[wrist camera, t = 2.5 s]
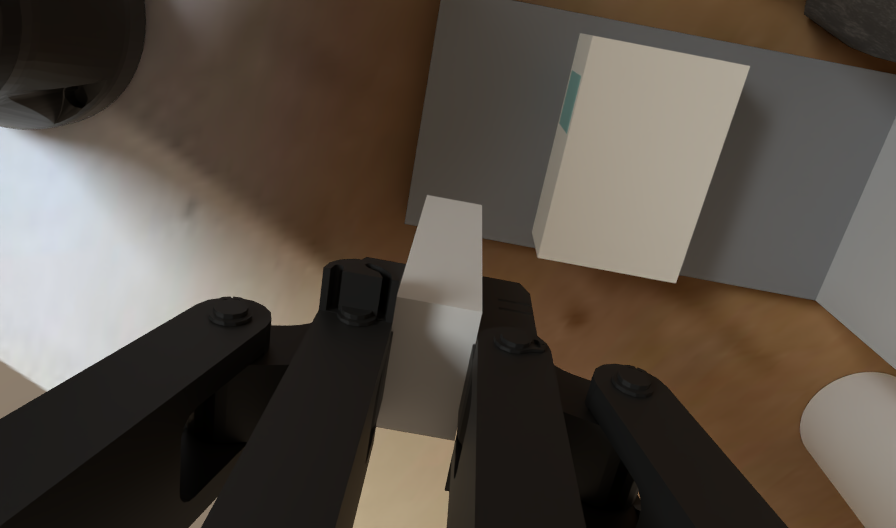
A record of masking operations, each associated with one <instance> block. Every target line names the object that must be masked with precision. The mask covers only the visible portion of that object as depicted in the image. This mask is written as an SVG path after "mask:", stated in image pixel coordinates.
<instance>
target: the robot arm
mask: <svg viewBox="0 0 896 528" xmlns="http://www.w3.org/2000/svg"><path fill="white" fill-rule="evenodd" d="M145 25H146V18H145V4H144V0H0V126H1V127H6V128H13V129H47V128H53V127H57V126H61V125H65V124H69V123H73V122H76V121H80V120H83V119H86V118H88V117H91V116H93V115H95V114H97V113H98V112H100V111H102V110H103V109H105V108H106V107H108V106H109V105H110V104H111V103H112V102H114V101H115V100H116V99H117V98H118V97H119V96H120V94H121V93H122V92H123V91H124V89H125V88H126V87H127V85H128V84H129V82H130V80H131V79H132V77H133V75H134V73H135V71H136V69H137V66H138V63H139V61H140V57H141V54H142V50H143V45H144V38H145ZM531 306H532V303H531V297H530V294H529V293H528V292H527V291H526V289H525V288H524V287H523V286H522V285H521V284H520V283H516V282H511V281H505V280H500V279H494V278H489V277H483V276H482V205H479V204H474V203H468V202H463V201H457V200H452V199H446V198H441V197H435V196H430V195H427V197H426V200H425V204H424V207H423V210H422V214H421V217H420V220H419V224H418V227H417V230H416V234H415V237H414V240H413V243H412V247H411V250H410V253H409V257H408V260H407V263H406V264H402V263H397V262H391V261H386V260H380V259H375V258H369V257H366V258H364V259H362V260H360V259H342V260H337V261H333V262H330V263H329V264H327V265H326V266H325V267H324V269H323V278H322V287H321V296H320V305H319V311H318V313H317V314H316V316H315V318H314V320H313V322H312V323H309V324H303V325H292V326H271V312H270V311H269V310H268V309H267V308H266V307H265V306H263V305H261V304H259V303H256V302H254V301H251V300H246V299H243V298H240V297H233V298H231V297H221V298H218V299H211V300H207V301H204V302H202V303H199V304H197V305H195V306H193V307H191V308H190V309H188V310H186V311H184V312H183V313H181V314H179V315H178V316H176V317H174V318H173V319H171V320H169V321H167V322H166V323H164V324H162V325H161V326H159V327H157V328H155V329H154V330H152V331H150V332H149V333H147V334H145V335H143V336H142V337H140V338H138V339H137V340H135V341H133V342H131V343H130V344H128V345H126V346H125V347H123V348H121V349H119V350H118V351H116V352H114V353H113V354H111V355H109V356H107V357H106V358H104V359H102V360H101V361H99V362H97V363H95V364H94V365H92V366H90V367H89V368H87V369H85V370H83V371H82V372H80V373H78V374H77V375H75V376H73V377H71V378H70V379H68V380H66V381H65V382H63V383H61V384H59V385H58V386H56V387H54V388H53V389H51V390H49V391H47V392H46V393H44V394H42V395H41V396H39V397H37V398H36V399H34V400H32V401H30V402H29V403H27V404H25V405H23V406H22V407H20V408H18V409H17V410H15V411H13V412H11V413H10V414H8V415H6V416H5V417H3V418H1V419H0V528H189V527H190V526H191V524H192V523H193V522H194V521H195V520H196V519H197V518H198V517H199V516H200V515H201V514H202V513H203V512H204V510H206V508H207V507H208V506H209V505H210V504H211V503H212V502H213V501H214V500H215V499H216V498H217V499H216V501H215V503H214V505H213V507H212V508H211V510H210V512H209V514H208V516H207V518H206V520H205V521H204V523H203V525H202V527H201V528H353V524H354V520H355V516H356V511H357V507H358V503H359V499H360V495H361V491H362V487H363V483H364V479H365V475H366V471H367V467H368V463H369V459H370V455H371V451H372V447H373V442H374V436H375V430H376V427H380V428H386V429H391V430H397V431H403V432H408V433H414V434H420V435H425V436H431V437H437V438H442V439H448V440H455V435H456V430H457V436H456V440H455V445H454V450H453V454H452V459H451V463H450V468H449V472H448V477H447V482H446V486H445V491H449V504H448V518H447V528H788V527H787V526H786V524H785V523H784V522H783V521H782V520H781V519H780V517H779V516H778V515H777V514H776V513H775V512H774V510H773V509H772V508H771V507H770V506H769V505H768V503H767V502H766V501H765V500H764V499H763V498H762V497H761V495H760V494H759V493H758V492H757V491H756V490H755V488H754V487H753V486H752V485H751V484H750V483H749V481H748V480H747V479H746V478H745V477H744V476H743V474H742V473H741V472H740V471H739V470H738V469H737V467H736V466H735V465H734V464H733V463H732V462H731V461H730V459H729V458H728V457H727V456H726V455H725V454H724V452H723V451H722V450H721V449H720V448H719V447H718V445H717V444H716V443H715V442H714V441H713V440H712V438H711V437H710V436H709V435H708V434H707V433H706V432H705V430H704V429H703V428H702V427H701V426H700V425H699V423H698V422H697V421H696V420H695V419H694V418H693V416H692V415H691V414H690V413H689V412H688V411H687V409H686V408H685V407H684V406H683V405H682V404H681V402H680V401H679V400H678V399H677V398H676V397H675V396H674V394H673V393H672V392H671V391H670V390H669V389H668V387H667V386H666V385H664V384H663V383H662V382H661V381H660V380H659V379H657V378H656V377H654V376H652V375H650V374H648V373H647V372H646V371H645V370H642V369H640V368H635V367H634V366H630V365H620V364H606V365H602V366H600V367H598V368H596V369H595V371H594V374H593V377H592V380H591V381H590V380H587V379H584V378H581V377H578V376H576V375H573V374H571V373H568V372H566V371H564V370H562V369H560V368H558V367H556V366H555V365H554V364H553V359H552V354H551V350H550V349H549V347H548V345H547V343H545V342H544V341H543V340H542V339H540V338H539V337H538V336H537V332H536V327H535V321H534V316H533V309H532V307H531ZM457 426H458V427H457ZM638 491H639V494H640V498H639V497H638V495H637V494H638ZM640 499H641V500H640Z"/></svg>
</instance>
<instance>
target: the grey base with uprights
mask: <svg viewBox="0 0 896 528" xmlns="http://www.w3.org/2000/svg"><path fill="white" fill-rule="evenodd" d="M580 33H582V34H588V35H593V36H598V37H603V38H608V39H613V40H619V41H624V42H629V43H634V44H639V45H644V46H650V47H655V48H660V49H665V50H670V51H675V52H681V53H686V54H691V55H696V56H701V57H706V58H712V59H717V60H722V61H727V62H732V63H737V64H742V65H747V66H750V69H749V71H748V74H747V77H746V80H745V83H744V86H743V89H742V92H741V95H740V98H739V101H738V104H737V106H736V109H735V112H734V115H733V118H732V121H731V124H730V127H729V130H728V133H727V136H726V139H725V141H724V144H723V147H722V150H721V153H720V156H719V159H718V162H717V165H716V168H715V171H714V174H713V177H712V179H711V182H710V185H709V188H708V191H707V194H706V197H705V200H704V203H703V206H702V209H701V212H700V214H699V217H698V220H697V223H696V226H695V229H694V232H693V235H692V238H691V241H690V244H689V247H688V249H687V252H686V255H685V258H684V261H683V264H682V267H681V270H680V273H679V275H682V276H687V277H693V278H698V279H703V280H709V281H714V282H719V283H725V284H730V285H735V286H741V287H746V288H752V289H757V290H762V291H768V292H773V293H778V294H784V295H789V296H794V297H800V298H805V299H810V300H816V301H817V302H818V303H819V304H820V305H821V306H822V307H824V308H825V309H826V310H827V311H828V312H829V313H831V314H832V315H833V316H834V317H835V318H836V319H838V320H839V321H840V322H841V323H842V324H843V325H845V326H846V327H847V328H848V329H849V330H850V331H852V332H853V333H854V334H855V335H856V336H857V337H858V338H860V339H861V340H862V341H863V342H864V343H865V344H867V345H868V346H869V347H870V348H871V349H872V350H874V351H875V352H876V353H877V354H878V355H879V356H881V357H882V358H883V359H884V360H885V361H886V362H888V363H889V364H890V365H891V366H892V367H893V368H894V369H896V75H895V74H890V73H885V72H880V71H875V70H870V69H864V68H859V67H854V66H849V65H844V64H839V63H834V62H828V61H823V60H818V59H813V58H808V57H803V56H797V55H792V54H787V53H782V52H777V51H772V50H767V49H761V48H756V47H751V46H746V45H741V44H736V43H730V42H725V41H720V40H715V39H710V38H705V37H700V36H694V35H689V34H684V33H679V32H674V31H669V30H663V29H658V28H653V27H648V26H643V25H638V24H633V23H627V22H622V21H617V20H612V19H607V18H602V17H597V16H591V15H586V14H581V13H576V12H571V11H566V10H560V9H555V8H550V7H545V6H540V5H535V4H530V3H524V2H519V1H514V0H441V1H440V8H439V14H438V20H437V26H436V32H435V38H434V45H433V51H432V57H431V63H430V69H429V76H428V82H427V88H426V94H425V100H424V106H423V113H422V119H421V125H420V131H419V137H418V144H417V150H416V156H415V162H414V168H413V175H412V181H411V187H410V193H409V199H408V205H407V212H406V218H405V224H409V225H414V226H418V224H419V220H420V217H421V214H422V210H423V207H424V204H425V200H426V197H427V195H430V196H435V197H441V198H446V199H452V200H457V201H463V202H468V203H474V204H479V205H482V238H484V239H489V240H494V241H500V242H505V243H511V244H516V245H521V246H527V247H532V248H535V244H534V240H533V235H532V229H533V225H534V221H535V217H536V213H537V209H538V205H539V200H540V196H541V192H542V188H543V184H544V180H545V176H546V171H547V167H548V163H549V159H550V155H551V151H552V147H553V143H554V138H555V134H556V130H557V126H558V122H559V118H560V114H561V109H562V105H563V101H564V97H565V93H566V89H567V85H568V81H569V76H570V72H571V68H572V64H573V60H574V56H575V52H576V47H577V43H578V39H579V35H580Z"/></svg>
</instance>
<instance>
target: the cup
mask: <svg viewBox="0 0 896 528" xmlns="http://www.w3.org/2000/svg"><path fill="white" fill-rule="evenodd" d="M800 435H801V439H802V442H803V444H804V446H805V447H806V449H807V450H808V452H809V453H810V454H811V456H812V457H813V458H814V460H815V461H816V462H817V464H818V465H819V466H820V468H821V469H822V470H823V472H824V473H825V474H826V476H827V477H828V479H829V480H830V481H831V483H832V484H833V485H834V487H835V488H836V489H837V491H838V492H839V493H840V495H841V496H842V497H843V499H844V500H845V501H846V503H847V504H848V505H849V507H850V508H851V509H852V511H853V512H854V513H855V515H856V516H857V517H858V519H859V520H860V521H861V523H862V524H863V525H864V527H865V528H896V377H895V376H892V375H889V374H885V373H880V372H862V373H856V374H851V375H848V376H845V377H842V378H840V379H837V380H835V381H833V382H832V383H830V384H828V385H827V386H825V387H824V388H822V389H821V390H820V391H819V392H818V393H817V394H816V395H815V396H814V397H813V398H812V399H811V400H810V402H809V403H808V404H807V406H806V408H805V410H804V412H803V414H802V418H801V422H800Z"/></svg>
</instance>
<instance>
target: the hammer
mask: <svg viewBox="0 0 896 528" xmlns="http://www.w3.org/2000/svg"><path fill="white" fill-rule="evenodd" d="M804 15H806V16H807V17H808V18H810V19H811V20H813V21H814V22H815V23H817V24H818V25H820V26H821V27H822V28H824V29H825V30H827V31H828V32H829V33H831V34H832V35H834V36H835V37H836V38H838V39H839V40H841V41H842V42H843V43H845V44H846V45H848V46H849V47H851V48H854V49H856V50H859V51H861V52H864V53H866V54H869V55H871V56H874V57H878V58H881V59H885V60H889V61H893V62H896V0H806V5H805V11H804Z"/></svg>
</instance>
